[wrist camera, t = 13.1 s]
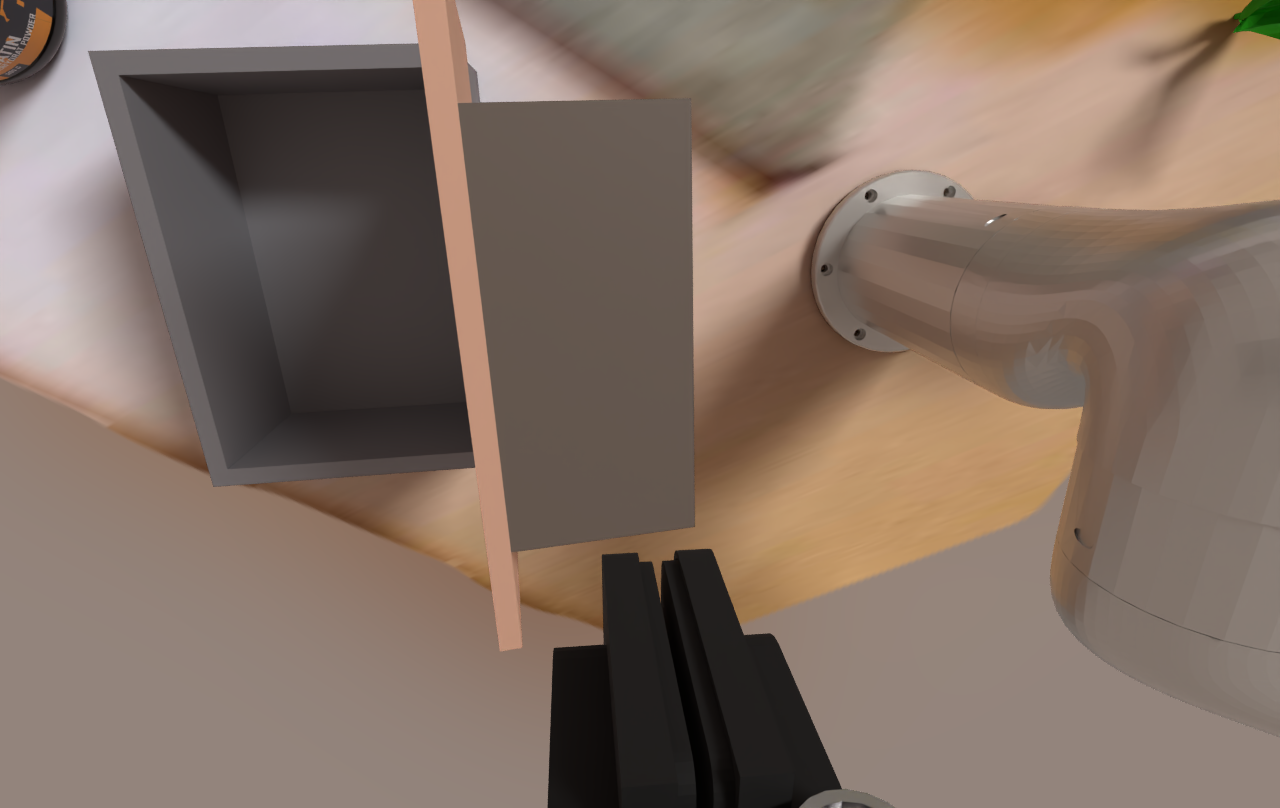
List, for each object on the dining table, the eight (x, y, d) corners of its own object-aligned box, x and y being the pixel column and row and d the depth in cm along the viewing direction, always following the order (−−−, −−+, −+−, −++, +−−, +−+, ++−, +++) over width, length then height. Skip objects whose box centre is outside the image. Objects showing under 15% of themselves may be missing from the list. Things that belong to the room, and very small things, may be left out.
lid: (447, 42, 31) (601, 41, 32) (498, 466, 38) (621, 452, 40) (402, -75, 16) (689, -68, 17) (500, 651, 24) (695, 619, 25)
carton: (476, 71, 40) (447, 42, 31) (513, 407, 48) (498, 465, 39) (203, 78, 39) (88, 50, 30) (285, 422, 47) (213, 486, 37)
